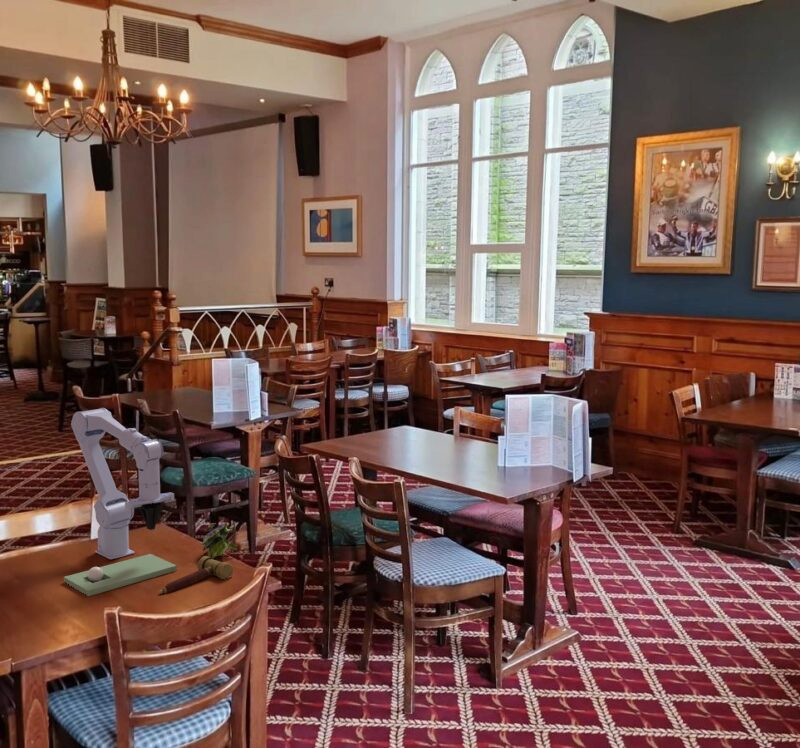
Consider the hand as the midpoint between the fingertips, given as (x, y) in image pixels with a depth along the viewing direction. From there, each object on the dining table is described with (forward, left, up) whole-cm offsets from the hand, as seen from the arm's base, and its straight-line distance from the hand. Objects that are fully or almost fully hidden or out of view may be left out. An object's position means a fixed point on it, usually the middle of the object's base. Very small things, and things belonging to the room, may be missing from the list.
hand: (150, 528), depth 236 cm
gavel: (+21, 0, -11) cm, 24 cm away
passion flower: (+7, +19, -11) cm, 23 cm away
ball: (+2, -18, -8) cm, 20 cm away
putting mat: (+3, -11, -10) cm, 15 cm away
